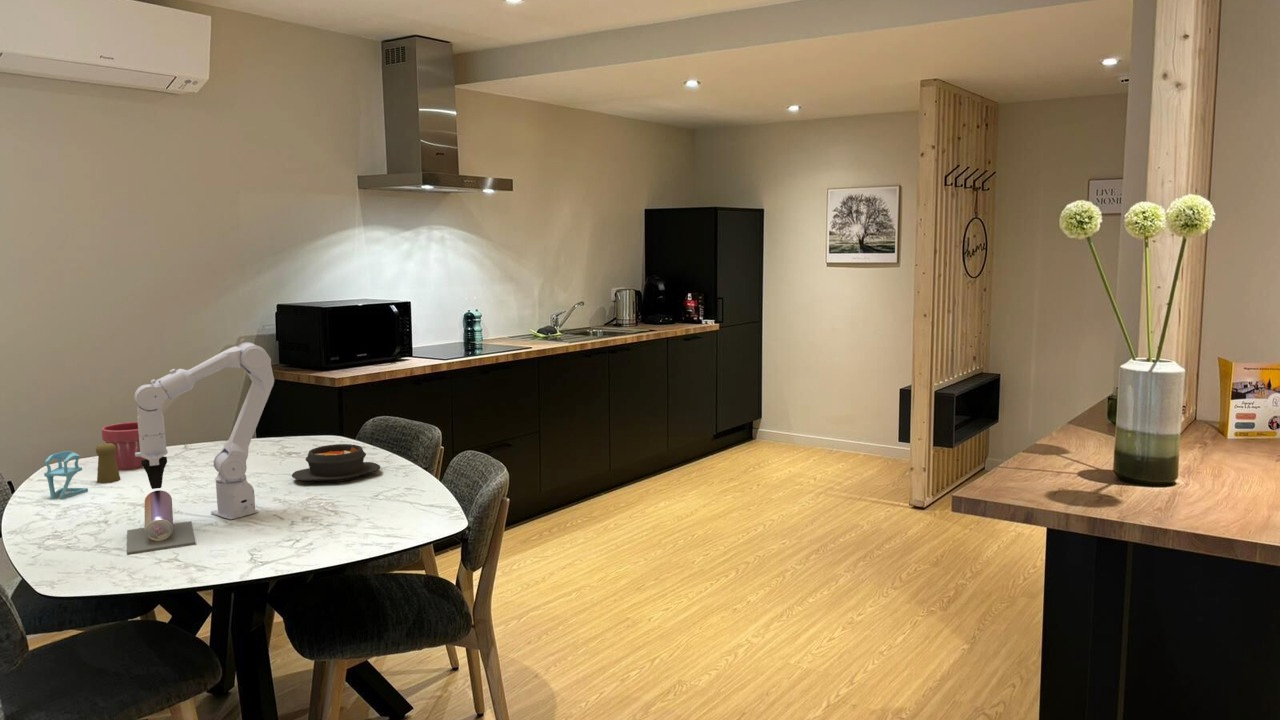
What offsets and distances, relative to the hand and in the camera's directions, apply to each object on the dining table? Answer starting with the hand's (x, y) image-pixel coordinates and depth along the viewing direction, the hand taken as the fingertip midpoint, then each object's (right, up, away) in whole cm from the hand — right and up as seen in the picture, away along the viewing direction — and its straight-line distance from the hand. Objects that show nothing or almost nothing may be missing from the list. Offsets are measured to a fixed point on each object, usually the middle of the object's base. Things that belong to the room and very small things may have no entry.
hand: (156, 487), depth 228 cm
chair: (-40, -6, +28) cm, 49 cm away
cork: (-36, -4, +43) cm, 56 cm away
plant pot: (-39, -2, +60) cm, 71 cm away
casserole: (+30, -3, +45) cm, 54 cm away
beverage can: (+1, -3, -1) cm, 3 cm away
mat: (+6, -11, -9) cm, 15 cm away
